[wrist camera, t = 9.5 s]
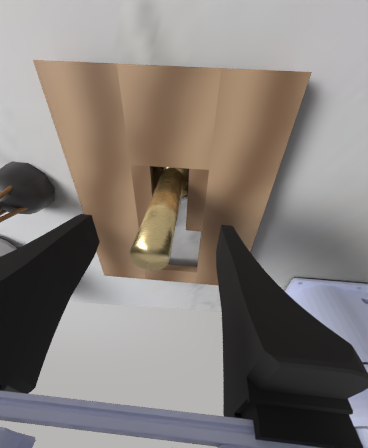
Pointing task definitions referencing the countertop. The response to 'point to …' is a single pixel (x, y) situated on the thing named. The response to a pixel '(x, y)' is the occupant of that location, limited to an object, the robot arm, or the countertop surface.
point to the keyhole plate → (171, 148)
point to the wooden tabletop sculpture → (23, 190)
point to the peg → (160, 219)
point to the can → (6, 247)
